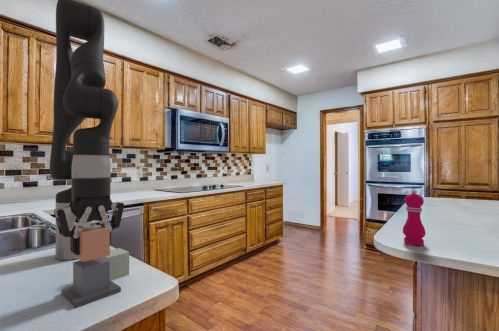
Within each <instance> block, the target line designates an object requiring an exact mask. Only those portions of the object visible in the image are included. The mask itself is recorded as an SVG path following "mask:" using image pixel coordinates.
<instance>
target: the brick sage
mask: <svg viewBox="0 0 499 331" xmlns="http://www.w3.org/2000/svg"><path fill="white" fill-rule="evenodd" d="M103 258H105V259H106V260H108V261H110V281H114V280H117V279H120V278H123V277H127V276H130V252H129V251H128V250H125V249H123V248H121V247H118V248H114V249H110V255H109V256H105V257H103Z"/></svg>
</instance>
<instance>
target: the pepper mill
mask: <svg viewBox="0 0 499 331" xmlns="http://www.w3.org/2000/svg"><path fill="white" fill-rule="evenodd" d="M404 203H405V205H406V207H405V208H406V210H405V211H407V219H406V221H405V223H404V225H403V227H402V233H403V234H404V236H405V237H403V242H405V243H404V244H406V243H407V244H406V245H408V244H411V245H410V246H413V245H423V246H425V240H424V239H423V238H424V237H425V236H426V228H425V226H424V224H423V223H422V221H421V220H422V219H421V212H423V210H422V209H423V207H422V206H424V203H425V200H424V197H423V196H422V195H420V194H418V192H417V190H416V189H411V193H409V194H407V195H406V196H405V197H404Z"/></svg>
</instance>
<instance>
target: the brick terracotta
mask: <svg viewBox="0 0 499 331" xmlns="http://www.w3.org/2000/svg"><path fill="white" fill-rule="evenodd" d="M79 238H80V254H79V255H77V256H76V255H75V254H74V253H73V256H74V257H75V258H77V259H76V260H78V261H82V262H85V261H89V260H93V259H97V258H101V257H105V256H109V255H110V250H111V249H110V248H111V245H110V229H109V228H105V227H104V226H103V227H102V226H101V225H100V224H99V225H93V226H92V225H91V227H85V228H83V229H82V231H81V232H80V236H79Z"/></svg>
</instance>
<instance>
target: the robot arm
mask: <svg viewBox="0 0 499 331" xmlns="http://www.w3.org/2000/svg"><path fill="white" fill-rule="evenodd" d="M71 38H76V39H78V40H83V41H86V42H83V43H82V44H80V45H78V47H77V48H76V49H75V50H73V48H72V44H71ZM55 39H56V40H55V44H56V45H55V48H56V54H55V55H56V58H55V61H56V62H55V63H56V64H55V75H54V88H53V127H52V128H53V129H52V139H51V149H50V156H49V175H50V177H51V178H52V180H57V181H58V180H59V181H65V180H66V181H67V180H69V181H70V180H71V187H70V188H67V189H64V190H61V191H59V192H57V193H56V194H55V209H53V210H54V211H53V214H54V216H55V217H54V218H55V260H58V261H72V260H78V259H77V258H75V257H74V256H73V253H74V254H75V255H76V256H77V255H79V254H80V238H79V236H80V232H81V231H82V229H83V228H85V227H92V225H91V224H92V223H91V222H93V221H97V222H98V223H99V225H101V226H102V227H103V226H104V227H105V228H109V229H110V246H111V245H112V231H113V230H115V229H119V228H120V226H121V223H122V217H123V212H124V208H125V203H124V202H120V201H116V202H115V201H112V199H111V175H112V171H111V160H110V140H111V139H110V137H111V133H112V132H111V130H112V127H113V123H114V121H115V117H116V114H117V111H118V108H119V100H118V96H117V94H115V92H114V91H113V90H111V89H109V88H105V87H106V83H107V80H106V72H105V71H106V70H105V67H104V51H105V49H104V48H105V20H104V15H103V12H102V11H101V10H99V9H98V8H96V7H94V6H93V5H92V6H91V5H88V4H87V3H82V2H79V1H77V0H57V3H56V7H55ZM86 119H94V120H99V123H98V125H96V126H91V127H83V128H78V127H79V126H80V125H81V124H82V123H83V122H84V121H85V120H86ZM72 134H73V135H72ZM71 136H72V150H71V149H70V150H69V149H67V150H65V149H66V146H67V144H68V141H69V140H70V137H71ZM110 209H111V211H112V215H111V219H109V217H108V216H109V215H108V212H109V210H110Z"/></svg>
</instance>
